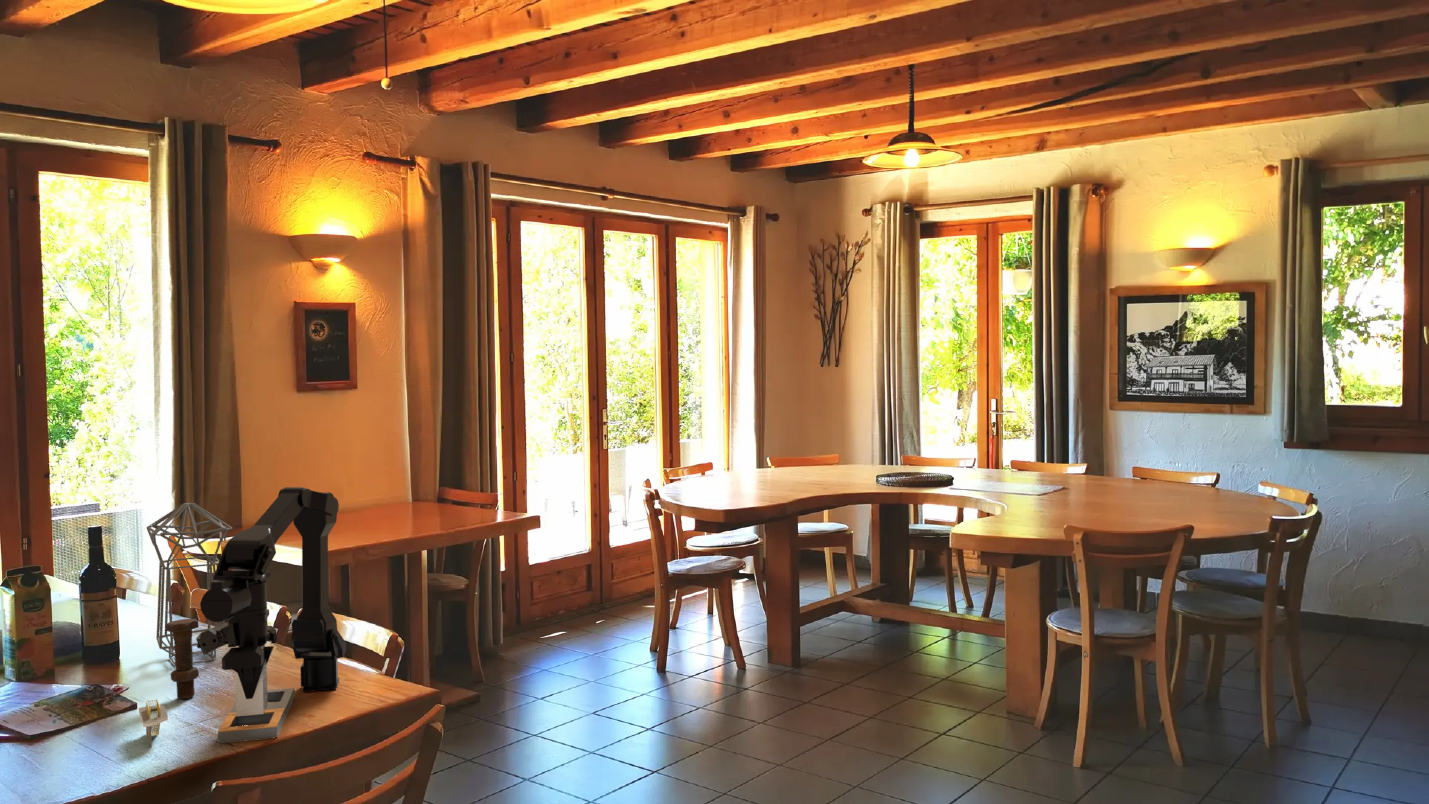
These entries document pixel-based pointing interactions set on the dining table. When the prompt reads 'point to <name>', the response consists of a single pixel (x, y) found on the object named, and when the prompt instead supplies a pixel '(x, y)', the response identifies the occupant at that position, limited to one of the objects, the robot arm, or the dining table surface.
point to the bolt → (183, 656)
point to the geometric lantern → (158, 528)
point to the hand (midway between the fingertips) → (251, 694)
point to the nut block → (259, 699)
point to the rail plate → (258, 719)
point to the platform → (152, 722)
